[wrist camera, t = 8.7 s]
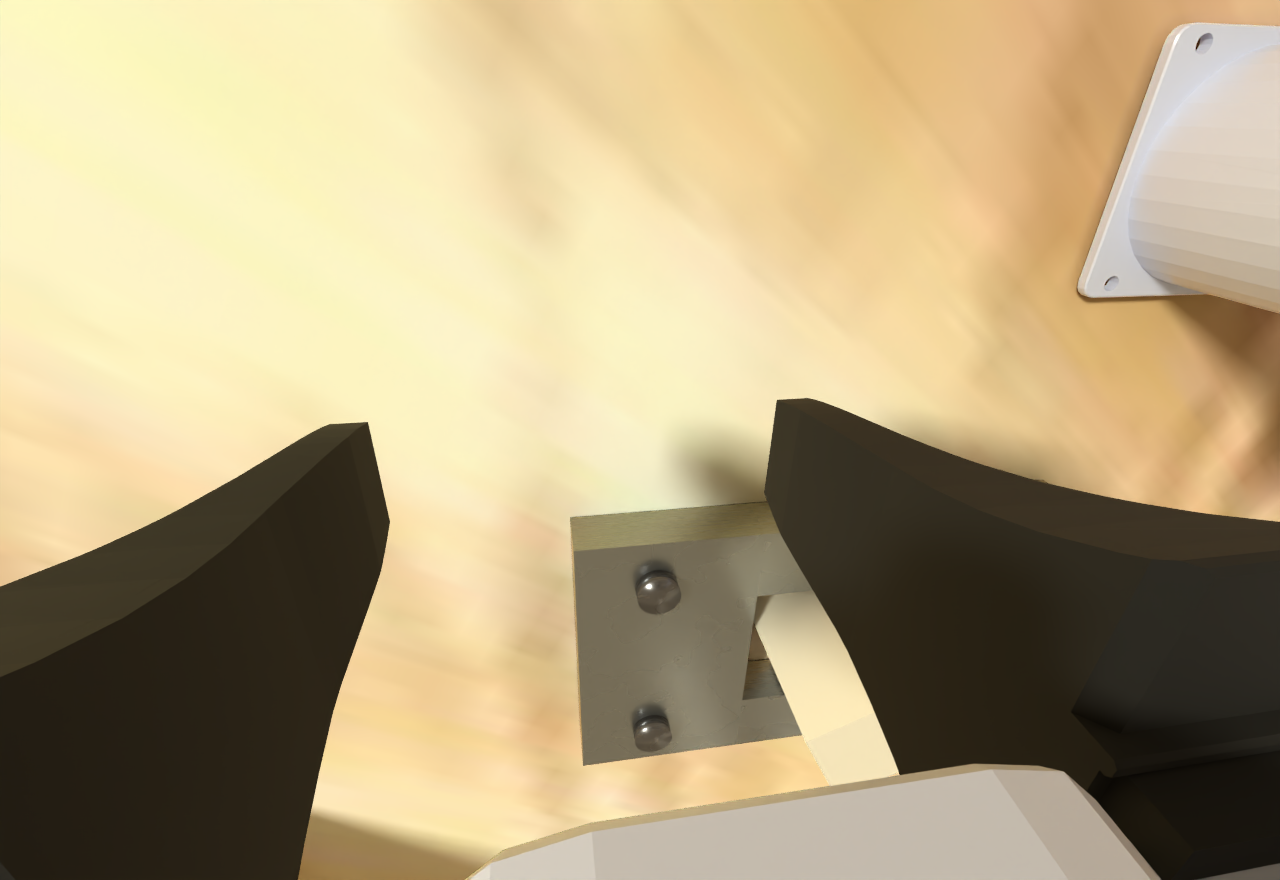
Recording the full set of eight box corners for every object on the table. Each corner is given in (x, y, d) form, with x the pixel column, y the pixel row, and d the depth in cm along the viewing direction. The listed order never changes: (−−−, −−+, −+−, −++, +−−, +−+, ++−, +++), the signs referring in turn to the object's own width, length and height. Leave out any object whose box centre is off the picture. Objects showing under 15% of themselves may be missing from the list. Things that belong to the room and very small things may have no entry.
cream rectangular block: (827, 557, 26) (916, 693, 20) (850, 614, 28) (938, 755, 22) (742, 596, 26) (805, 742, 20) (771, 650, 28) (836, 799, 22)
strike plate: (1043, 479, 26) (1092, 515, 24) (965, 675, 32) (999, 719, 29) (570, 517, 23) (574, 562, 21) (579, 725, 29) (584, 778, 26)
